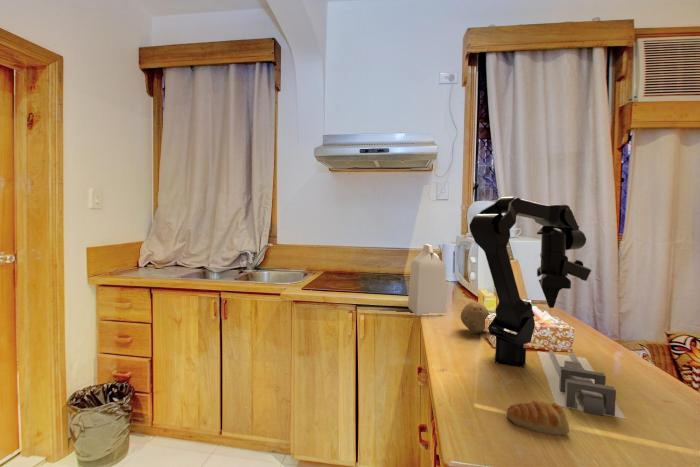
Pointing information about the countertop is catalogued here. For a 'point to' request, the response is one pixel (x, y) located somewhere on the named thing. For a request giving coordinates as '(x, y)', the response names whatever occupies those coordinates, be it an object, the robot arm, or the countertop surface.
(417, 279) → the milk
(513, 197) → the robot arm
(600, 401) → the long grey bar
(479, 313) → the brown coconut
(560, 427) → the pastry
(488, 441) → the countertop surface
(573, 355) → the base with arch frames
